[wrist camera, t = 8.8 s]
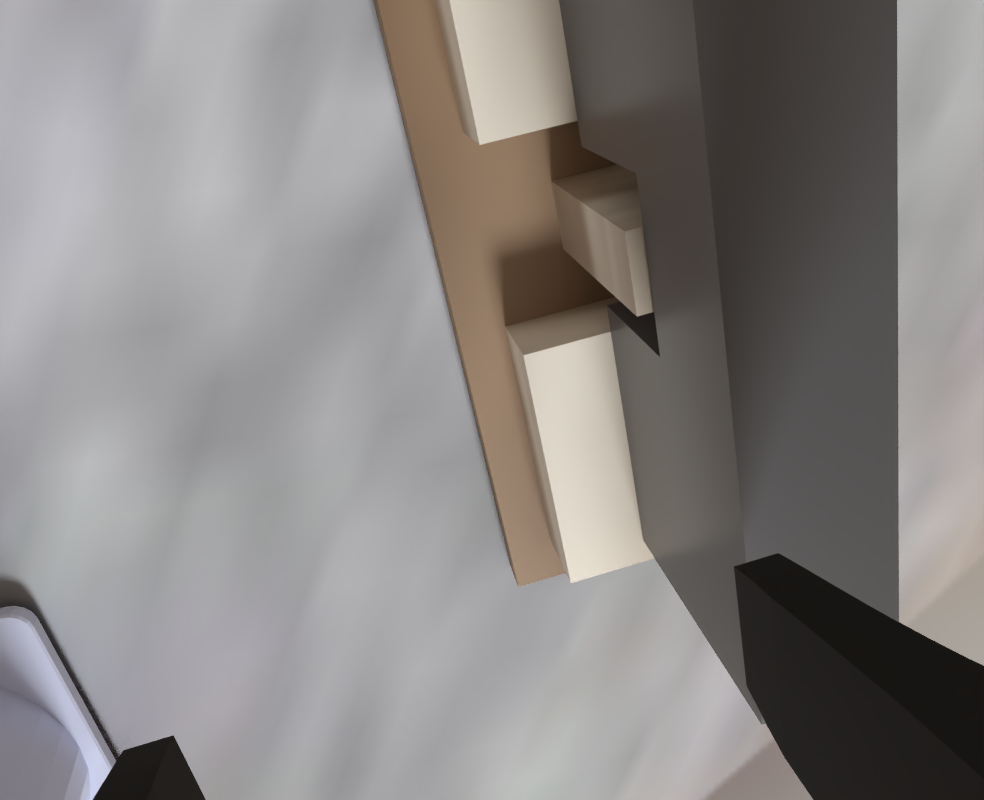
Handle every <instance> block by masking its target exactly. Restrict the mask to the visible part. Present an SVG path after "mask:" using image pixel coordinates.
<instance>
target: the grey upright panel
mask: <svg viewBox="0 0 984 800" xmlns="http://www.w3.org/2000/svg"><path fill="white" fill-rule="evenodd" d="M559 4H560V11H561V17H562V23H563V30H564V36H565V43H566V49H567V55H568V62H569V68H570V75H571V81H572V87H573V94H574V100H575V107H576V113H577V119H578V126H579V132H580V139H581V145H582V147H583V148H585V149H587V150H589V151H591V152H593V153H595V154H598V155H600V156H602V157H604V158H606V159H608V160H610V161H612V162H614V163H616V164H618V165H620V166H622V167H624V168H626V169H628V170H630V171H632V172H634V173H636V177H637V185H638V193H639V200H640V208H641V215H642V223H643V231H644V238H645V246H646V253H647V261H648V269H649V276H650V284H651V291H652V299H653V307H654V312H652V313H648V314H645V315H641V316H636V315H635V314H634V313H632V312H631V311H630V310H629V309H628V308H627V307H626V306H625V305H624V304H623V303H622V302H617V303H613V304H610V305H607V312H608V318H609V324H610V331H611V337H612V344H613V350H614V356H615V363H616V369H617V376H618V382H619V388H620V395H621V401H622V408H623V414H624V420H625V427H626V433H627V440H628V446H629V452H630V459H631V465H632V472H633V478H634V484H635V491H636V497H637V504H638V510H639V517H640V523H641V529H642V536H643V541H644V542H645V544H646V545H647V547H648V549H649V550H650V552H651V553H652V555H653V556H654V558H655V559H656V561H657V563H658V564H659V566H660V567H661V569H662V570H663V572H664V573H665V575H666V577H667V578H668V580H669V581H670V583H671V584H672V586H673V587H674V589H675V591H676V592H677V594H678V595H679V597H680V598H681V600H682V601H683V603H684V605H685V606H686V608H687V609H688V611H689V612H690V614H691V615H692V617H693V619H694V620H695V622H696V623H697V625H698V626H699V628H700V629H701V631H702V633H703V634H704V636H705V637H706V639H707V640H708V642H709V643H710V645H711V646H712V648H713V650H714V651H715V653H716V654H717V656H718V657H719V659H720V660H721V662H722V664H723V665H724V667H725V668H726V670H727V671H728V673H729V674H730V676H731V678H732V679H733V681H734V682H735V684H736V685H737V687H738V688H739V690H740V692H741V693H742V695H743V696H744V698H745V699H746V701H747V702H748V704H749V706H750V707H751V709H752V710H753V712H754V713H755V715H756V716H757V718H758V720H759V721H760V723H761V724H765V723H766V722H765V720H764V719H763V717H762V715H761V713H760V711H759V709H758V707H757V705H756V703H755V701H754V699H753V697H752V695H751V694H750V692H749V690H748V688H747V686H746V677H745V667H744V658H743V648H742V639H741V630H740V620H739V611H738V601H737V592H736V583H735V573H734V566H737V565H740V564H744V563H747V562H750V561H754V560H757V559H760V558H764V557H767V556H770V555H773V554H777V553H779V554H781V555H783V556H785V557H786V558H788V559H790V560H792V561H793V562H795V563H797V564H799V565H800V566H802V567H804V568H805V569H807V570H809V571H810V572H812V573H814V574H816V575H817V576H819V577H821V578H822V579H824V580H826V581H828V582H829V583H831V584H833V585H834V586H836V587H838V588H840V589H841V590H843V591H845V592H846V593H848V594H850V595H852V596H853V597H855V598H857V599H859V600H860V601H862V602H864V603H865V604H867V605H869V606H871V607H872V608H874V609H876V610H878V611H880V612H881V613H883V614H885V615H887V616H888V617H890V618H892V619H894V620H896V621H898V622H899V552H898V212H897V0H559Z"/></svg>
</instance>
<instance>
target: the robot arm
mask: <svg viewBox="0 0 984 800" xmlns="http://www.w3.org/2000/svg"><path fill="white" fill-rule="evenodd" d="M734 573H735V583H736V592H737V601H738V611H739V620H740V630H741V639H742V648H743V658H744V667H745V677H746V686H747V688H748V690H749V692H750V694H751V695H752V697H753V699H754V701H755V703H756V705H757V707H758V709H759V711H760V713H761V715H762V717H763V719H764V720H765V722H766V724H767V726H768V728H769V730H770V732H771V733H772V735H773V737H774V739H775V741H776V743H777V744H778V746H779V748H780V750H781V752H782V753H783V755H784V757H785V759H786V760H787V762H788V763H789V764H790V766H791V767H792V769H793V770H794V772H795V773H796V775H797V776H798V778H799V779H800V781H801V782H802V783H803V785H804V786H805V788H806V789H807V791H808V792H809V794H810V795H811V797H812V798H813V800H984V666H983V665H981V664H979V663H977V662H974V661H972V660H970V659H968V658H966V657H964V656H962V655H960V654H958V653H956V652H954V651H952V650H950V649H948V648H946V647H945V646H943V645H941V644H939V643H937V642H935V641H933V640H931V639H929V638H927V637H925V636H923V635H922V634H920V633H918V632H916V631H914V630H912V629H911V628H909V627H907V626H905V625H903V624H901V623H899V622H898V621H896V620H894V619H892V618H890V617H888V616H887V615H885V614H883V613H881V612H880V611H878V610H876V609H874V608H872V607H871V606H869V605H867V604H865V603H864V602H862V601H860V600H859V599H857V598H855V597H853V596H852V595H850V594H848V593H846V592H845V591H843V590H841V589H840V588H838V587H836V586H834V585H833V584H831V583H829V582H828V581H826V580H824V579H822V578H821V577H819V576H817V575H816V574H814V573H812V572H810V571H809V570H807V569H805V568H804V567H802V566H800V565H799V564H797V563H795V562H793V561H792V560H790V559H788V558H786V557H785V556H783V555H781V554H779V553H777V554H773V555H770V556H767V557H764V558H760V559H757V560H754V561H750V562H747V563H744V564H740V565H737V566H734ZM0 800H205V798H204V796H203V794H202V792H201V790H200V788H199V786H198V784H197V782H196V780H195V778H194V776H193V774H192V772H191V770H190V768H189V766H188V764H187V762H186V760H185V758H184V756H183V754H182V752H181V750H180V748H179V746H178V744H177V742H176V740H175V738H174V736H170V737H167V738H163V739H160V740H157V741H153V742H150V743H147V744H143V745H140V746H137V747H133V748H130V749H127V750H124V751H123V752H122V753H121V755H120V756H119V758H118V760H117V761H116V760H115V758H114V756H113V755H112V753H111V751H110V749H109V747H108V745H107V744H106V742H105V740H104V738H103V736H102V734H101V733H100V731H99V729H98V727H97V725H96V724H95V722H94V720H93V718H92V716H91V714H90V713H89V711H88V709H87V707H86V705H85V704H84V702H83V700H82V698H81V696H80V694H79V693H78V691H77V689H76V687H75V685H74V683H73V682H72V680H71V678H70V676H69V674H68V673H67V671H66V669H65V667H64V665H63V663H62V662H61V660H60V658H59V656H58V654H57V653H56V651H55V649H54V647H53V645H52V643H51V642H50V640H49V638H48V636H47V634H46V632H45V631H44V629H43V627H42V625H41V623H40V622H39V620H38V618H37V617H36V616H35V615H34V613H33V612H32V611H30V610H28V609H26V608H24V607H19V606H8V607H3V608H0Z"/></svg>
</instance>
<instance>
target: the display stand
mask: <svg viewBox="0 0 984 800" xmlns="http://www.w3.org/2000/svg"><path fill="white" fill-rule="evenodd" d="M374 4H375V8H376V12H377V16H378V20H379V25H380V29H381V33H382V37H383V41H384V45H385V49H386V53H387V58H388V62H389V66H390V70H391V74H392V78H393V82H394V86H395V91H396V95H397V99H398V103H399V107H400V111H401V115H402V119H403V123H404V128H405V132H406V136H407V140H408V144H409V148H410V152H411V156H412V161H413V165H414V169H415V173H416V177H417V181H418V185H419V189H420V194H421V198H422V202H423V206H424V210H425V214H426V218H427V222H428V227H429V231H430V235H431V239H432V243H433V247H434V251H435V255H436V260H437V264H438V268H439V272H440V276H441V280H442V284H443V288H444V293H445V297H446V301H447V305H448V309H449V313H450V317H451V321H452V325H453V330H454V334H455V338H456V342H457V346H458V350H459V354H460V358H461V363H462V367H463V371H464V375H465V379H466V383H467V387H468V391H469V396H470V400H471V404H472V408H473V412H474V416H475V420H476V424H477V429H478V433H479V437H480V441H481V445H482V449H483V453H484V457H485V462H486V466H487V470H488V474H489V478H490V482H491V486H492V490H493V495H494V499H495V503H496V507H497V511H498V515H499V519H500V523H501V528H502V532H503V536H504V540H505V544H506V548H507V552H508V556H509V560H510V565H511V568H512V571H513V574H514V576H515V579H516V582H517V584H518V587H519V586H523V585H526V584H529V583H533V582H536V581H539V580H543V579H546V578H550V577H553V576H556V575H560V574H563V573H566V574H567V576H568V578H569V580H570V582H571V583H573V582H577V581H580V580H583V579H587V578H590V577H593V576H597V575H600V574H603V573H607V572H610V571H613V570H617V569H620V568H624V567H627V566H630V565H634V564H637V563H640V562H644V561H647V560H650V559H654V556H653V555H652V553H651V552H650V550H649V549H648V547H647V545H646V544H645V542H644V541H643V536H642V529H641V523H640V517H639V510H638V504H637V497H636V491H635V484H634V478H633V472H632V465H631V459H630V452H629V446H628V440H627V433H626V427H625V420H624V414H623V408H622V401H621V395H620V388H619V382H618V376H617V369H616V363H615V356H614V350H613V344H612V337H611V331H610V324H609V318H608V312H607V305H610V304H613V303H617V302H622V303H623V304H624V305H625V306H626V307H627V308H628V309H629V310H630V311H631V312H632V313H634V314H635V315H636V316H641V315H645V314H648V313H652V312H654V307H653V299H652V291H651V284H650V276H649V269H648V261H647V253H646V246H645V238H644V231H643V223H642V215H641V208H640V200H639V193H638V185H637V177H636V173H634V172H632V171H630V170H628V169H626V168H624V167H622V166H620V165H618V164H616V163H614V162H612V161H610V160H608V159H606V158H604V157H602V156H600V155H598V154H595V153H593V152H591V151H589V150H587V149H585V148H583V147H582V145H581V139H580V132H579V126H578V119H577V113H576V107H575V100H574V94H573V87H572V81H571V75H570V68H569V62H568V55H567V49H566V43H565V36H564V30H563V23H562V17H561V11H560V4H559V0H374Z"/></svg>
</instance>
